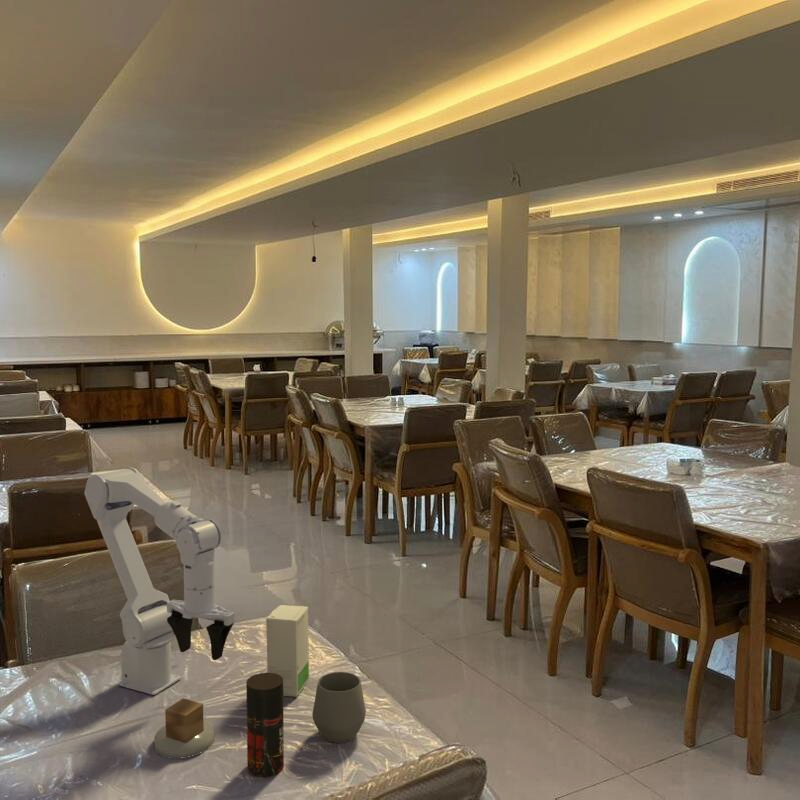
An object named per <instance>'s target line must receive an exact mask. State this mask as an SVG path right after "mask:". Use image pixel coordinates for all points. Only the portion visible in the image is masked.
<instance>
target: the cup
mask: <svg viewBox="0 0 800 800" xmlns="http://www.w3.org/2000/svg"><path fill="white" fill-rule="evenodd" d="M312 708H313V709H312V715H311V716H312V720H313V723H314V725H315V727H316V728H317V730H318V732H319V734H320V736H321V737H322V738H323V739H324V740H326V741H328V742H329V743H336V744H337V743H339V744H340V743H341V744H342V743H346V742H349V741H351V740H353V739H354V738H356V736H357V735H358V734H359V732H360V730H361V728H362V726H363V724H364V723H365V720H366V713H367V711H366V705H365V699H364V693H363V688H362V680H361V679H360V677H359V676H357V675H356V674H354V673H351V672H348V671H347V672H346V671H333V672H329V673H326V674H324V675H322V676H321V677H320V678H318V682H317V686H316V691H315V697H314V703H313V707H312Z"/></svg>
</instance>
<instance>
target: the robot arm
mask: <svg viewBox="0 0 800 800" xmlns="http://www.w3.org/2000/svg"><path fill="white" fill-rule="evenodd" d="M84 496H85V500H86V501H87V504H88V507H89V509H90V511H91V514H92V517H93V518H94V520H96V522H97V525H98V527H99V530H100V532H101V535H102V538H103V540H104V542H105V545H106V547H107V550H108V552H109V555H110V558H111V560H112V563H113V566H114V568H115V570H116V573H117V576H118V578H119V582H120V583H121V586H122V588H123V592H124V594H125V596H126V599H127V601H126V603H125V605H124V606H123V608H122V609H121V611H120V613H119V617H120V619H121V620H120V621H121V624H122V635H123V637H124V639H125V642H124V644H123V645H122V648H121V651H120V670H121V671H120V672H121V673H120V674H121V681H119V682H118V686H121V687H124V688H127V689H131V690H134V691H138V692H141V693H145V694H148V695H152V696H155V695H157V694H159V693H161V692H162V691H164V690H166V689H167V688H168V687H170V686H172V685H173V684H175V683H176V682H178V681H180V680H181V679H182V676H181V675H178V674H174V673H172V650H171V649H172V647H171V645H172V644H171V642H172V641H171V639H172V638H174V637H175V638H176V642H177V645H178V649H179V651H180V653H185V652H187V651H188V650H190V649H191V645H192V625H193V619H195V618H196V619H203V620H208V621H212V622H213V623H211V624H209V625H207V626H206V631H207V633H208V637H209V640H210V641H209V643H210V655H211V659H212V661H218V659H220V658H222V657H223V653H224V648H225V645H226V642H227V638H228V637H229V636H228V635H229V634H230V631H231V629H232V627H233V626H234V624H235V619H236V617H235V616H236V615H235V611H234V612H233V611H231V610H230V611H229V610H228V609H226V608H224V607H222V606H220V605H218V604H216V553H215V552H216V550H215V549H217V548H218V547H219V546H220V544H221V542H222V532H221V530H220V527H219V525H218V524H217V522H215V521H214V519H211V518H205V519H204V518H202V517H200V518H199V517H198V516H197V515H195V514H193V513H192V512H191V511H189V510H188V509H186V508H185V507H184V506H183V505H182V503H181V502H179V501H178V500H177V501H175V500H171V501H165V499H163V497H161V496H160V495H159V494H158V493H156V492H155V490H154V489H152V487H150V486H149V485H148V484H147V483H146V482H145V477H144V474H143V473H141V472H140V471H138V470H137V469H136V468H134V467H127V468H123V469H120V470H115V471H110V472H109V471H108V472H104V473H99V474H97V473H95V474H91V475H90V476H89V477H88V479H87V481H86V484H85V489H84ZM134 506H137V507H138V508H140V509H142V510H143V511H145V512H147V514H150V515H152V516H153V517H154V525H156V527H158V528H159V529H160V530H161V531H163V532H164V533H165V534H167V536H168V537H170V538H171V539H173V540H174V541H175V545H176V548H177V550H178V551H179V556H180V562H181V563H182V565H183V600H178V599H172V600H170V599H169V596H168V594H167V593H164V592H162V591H160V590H158V589H156V588H154V586H153V584H152V581H151V578H150V575H149V573H148V570H147V568H146V565H145V563H144V561H143V558H142V555H141V553H140V550H139V548H138V545H137V542H136V541H135V538H134V536H133V535H134V534H133V533H132V530H131V527H130V526H129V523H128V520H127V516H128V515H129V514H128V513H130V511H132V510H133V508H134ZM147 608H148V609H147ZM174 635H175V636H174Z"/></svg>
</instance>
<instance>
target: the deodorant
mask: <svg viewBox="0 0 800 800" xmlns="http://www.w3.org/2000/svg"><path fill="white" fill-rule="evenodd" d="M245 681H246V743H247V744H246V746H247V747H246V750H247V751H246V752H247V753H246V756H247V757H246V758H247V759H246V760H247V762H246V763H247V766H246V768H247V772H248V774H249V775H251V776H252V777H255V778H260V779H261V778H262V779H263V778H265V779H266V778H271V777H274V776H276V775H279V774H280V773H281V772H282V771H283V769H284V767H285V763H284V762H285V761H284V760H285V758H284V757H285V755H284V753H285V749H284V748H285V747H284V746H285V742H284V740H285V739H284V737H285V735H284V733H285V732H284V726H285V725H284V696H283V678H282V676H280V675H278V674H275V673H267V672H260V673H256V674H254V675H251V676H250V677H248V678H247V680H245Z"/></svg>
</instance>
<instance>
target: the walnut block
mask: <svg viewBox="0 0 800 800" xmlns="http://www.w3.org/2000/svg"><path fill="white" fill-rule="evenodd" d="M164 711H165V712H164V713H165V714H164V715H165V717H164V718H165V726H166V737H168V738H171V739H174V740H178V741H181V742H184V743H187V742H189V741H190V740H192V739H193V738H194V737H196V736H197V735H198V734H200V733H201V732H202V731H204V724H203V721H204V703H201V702H197V701H194V700H191V699H187V698H181V699H179V700H177V701H176V702H175V703H174V704H172V705H171V706H168V708H166V709H165V710H164Z"/></svg>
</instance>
